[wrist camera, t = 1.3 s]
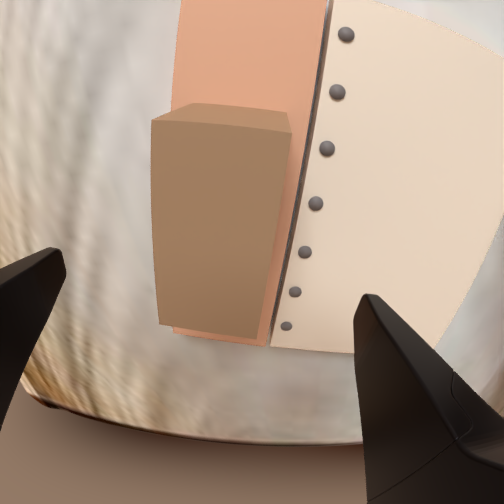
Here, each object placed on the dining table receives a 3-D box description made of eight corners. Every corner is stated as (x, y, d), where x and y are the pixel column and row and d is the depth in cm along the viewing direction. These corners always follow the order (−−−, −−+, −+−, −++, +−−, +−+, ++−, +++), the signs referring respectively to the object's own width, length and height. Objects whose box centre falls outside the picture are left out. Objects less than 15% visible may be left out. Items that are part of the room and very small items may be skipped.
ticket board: (522, 77, 11) (539, 80, 9) (423, 341, 21) (429, 356, 20) (329, -2, 11) (335, -10, 9) (270, 329, 21) (269, 347, 20)
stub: (323, -4, 11) (354, -51, 5) (266, 330, 21) (261, 413, 16) (193, -15, 11) (141, -60, 5) (178, 317, 21) (152, 395, 16)
